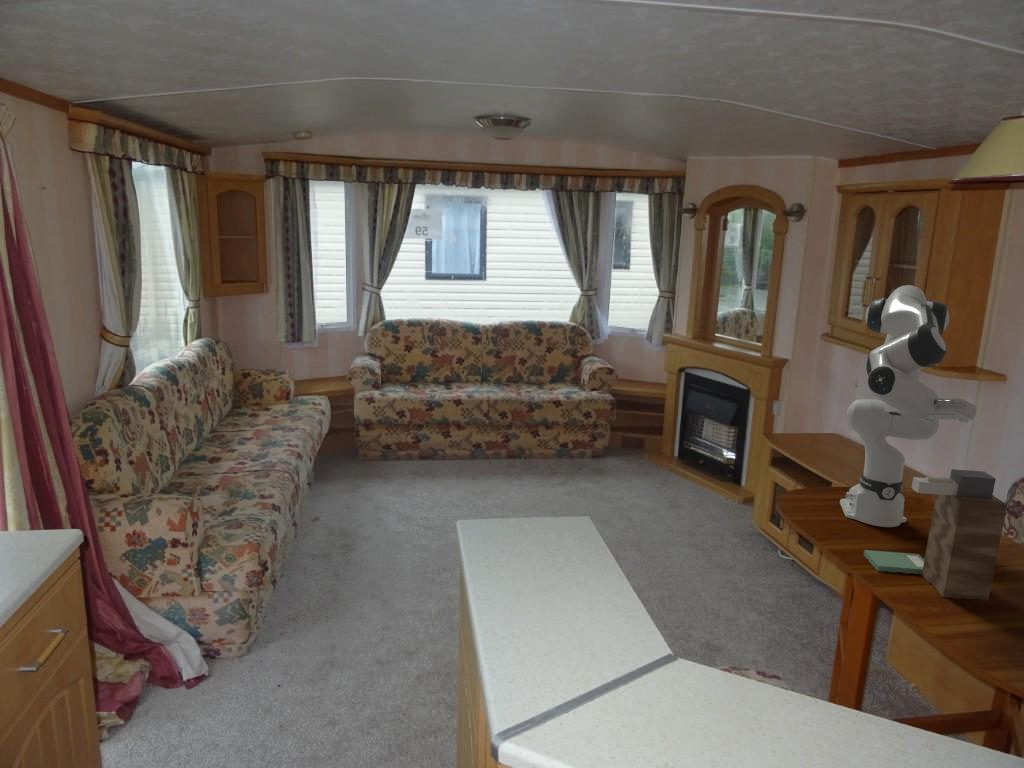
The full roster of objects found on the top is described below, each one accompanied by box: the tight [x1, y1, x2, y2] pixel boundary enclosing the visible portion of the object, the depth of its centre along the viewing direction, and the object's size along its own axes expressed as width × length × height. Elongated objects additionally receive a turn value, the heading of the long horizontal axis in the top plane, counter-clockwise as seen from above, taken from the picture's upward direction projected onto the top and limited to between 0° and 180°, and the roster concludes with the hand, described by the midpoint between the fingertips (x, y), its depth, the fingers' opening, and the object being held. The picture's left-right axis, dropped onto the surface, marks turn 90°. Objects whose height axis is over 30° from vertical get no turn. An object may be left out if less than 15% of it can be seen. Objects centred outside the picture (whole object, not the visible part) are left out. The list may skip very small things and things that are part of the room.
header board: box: [863, 549, 924, 575], centre depth 204 cm, size 10×15×2 cm, turn 85°
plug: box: [911, 469, 997, 499], centre depth 187 cm, size 6×18×6 cm, turn 85°
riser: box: [921, 494, 1008, 601], centre depth 190 cm, size 12×11×26 cm
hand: (947, 419), depth 194 cm, fingers open, 8 cm apart
